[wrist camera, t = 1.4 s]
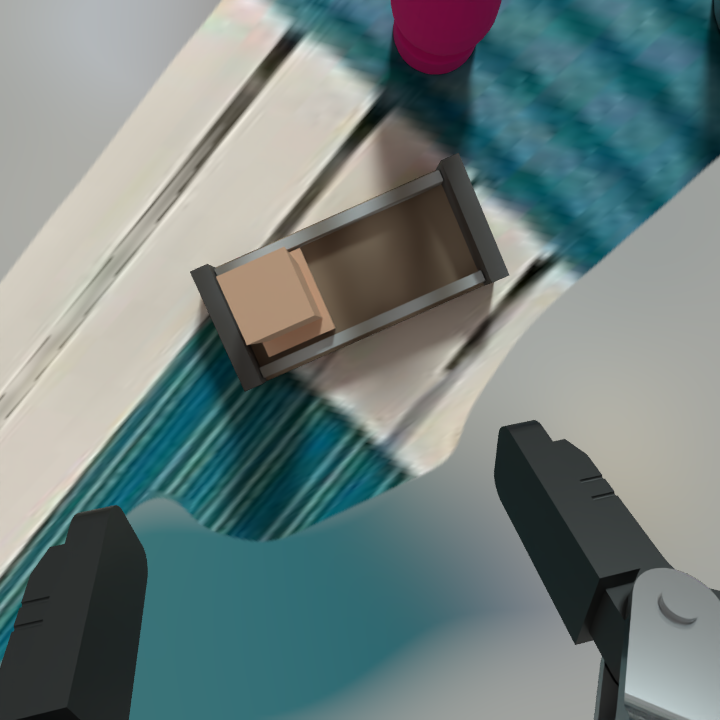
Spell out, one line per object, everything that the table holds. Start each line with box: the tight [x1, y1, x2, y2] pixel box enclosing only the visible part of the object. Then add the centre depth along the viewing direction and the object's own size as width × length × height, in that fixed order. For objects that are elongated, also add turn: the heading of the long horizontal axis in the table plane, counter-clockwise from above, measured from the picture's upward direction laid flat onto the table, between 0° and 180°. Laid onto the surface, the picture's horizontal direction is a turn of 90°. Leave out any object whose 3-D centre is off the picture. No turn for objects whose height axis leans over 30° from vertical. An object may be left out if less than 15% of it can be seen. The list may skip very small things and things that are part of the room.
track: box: [190, 153, 509, 391], centre depth 38 cm, size 20×9×4 cm, turn 114°
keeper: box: [216, 247, 335, 357], centre depth 33 cm, size 5×6×10 cm
